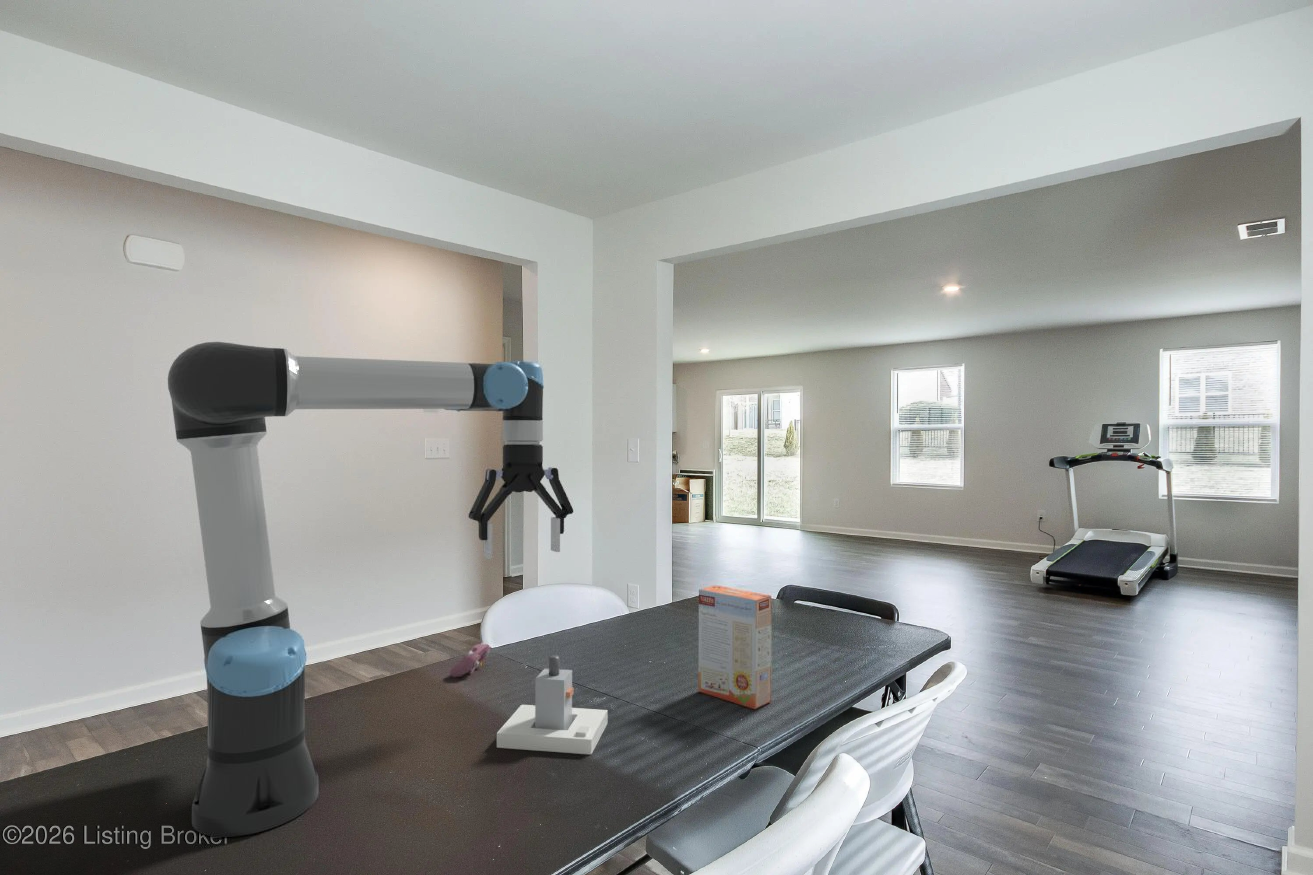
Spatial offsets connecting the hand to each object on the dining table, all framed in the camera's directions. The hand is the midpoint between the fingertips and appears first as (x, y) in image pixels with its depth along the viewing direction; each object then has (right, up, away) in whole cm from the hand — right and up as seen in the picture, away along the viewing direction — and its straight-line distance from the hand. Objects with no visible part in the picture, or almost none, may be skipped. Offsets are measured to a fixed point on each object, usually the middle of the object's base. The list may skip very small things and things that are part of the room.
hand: (522, 554), depth 131 cm
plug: (+8, -28, -13) cm, 32 cm away
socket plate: (+8, -29, -13) cm, 33 cm away
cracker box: (+41, -29, +4) cm, 50 cm away
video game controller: (-15, -29, +18) cm, 37 cm away
